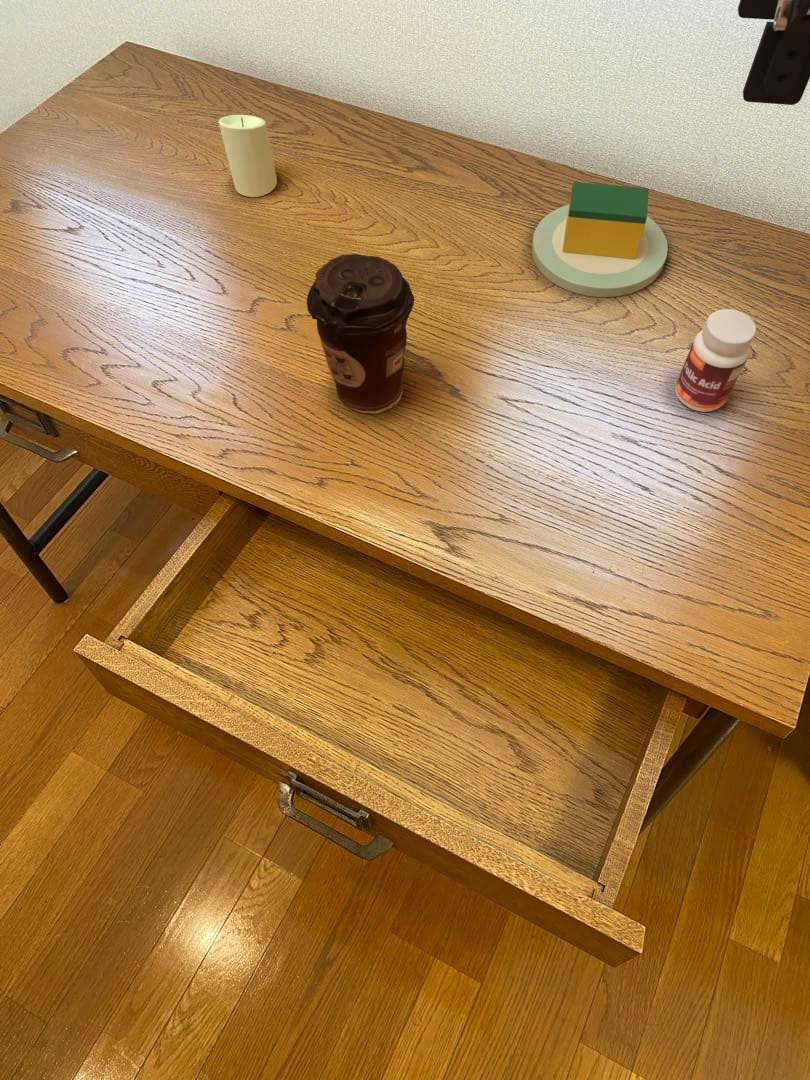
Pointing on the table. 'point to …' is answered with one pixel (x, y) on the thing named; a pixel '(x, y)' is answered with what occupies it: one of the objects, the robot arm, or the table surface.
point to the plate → (596, 260)
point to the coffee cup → (362, 328)
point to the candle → (248, 154)
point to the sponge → (605, 220)
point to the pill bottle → (715, 360)
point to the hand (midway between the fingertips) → (765, 56)
